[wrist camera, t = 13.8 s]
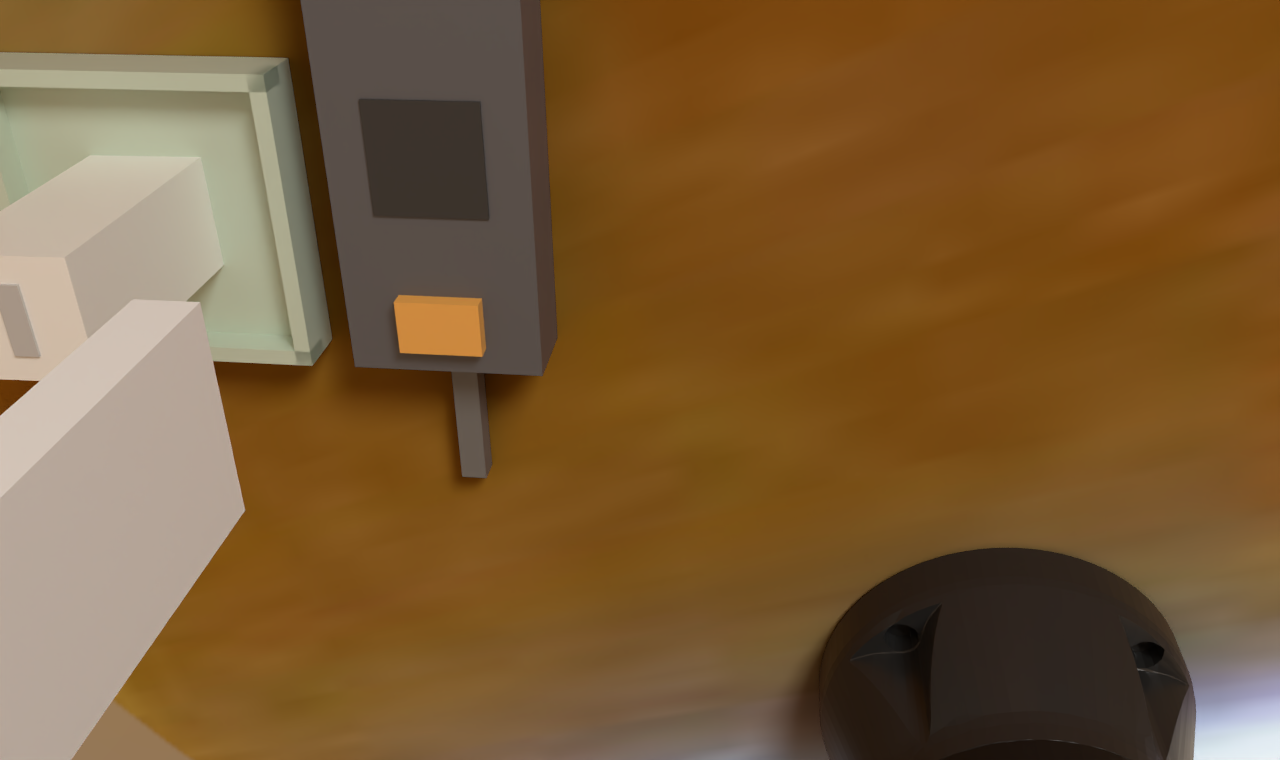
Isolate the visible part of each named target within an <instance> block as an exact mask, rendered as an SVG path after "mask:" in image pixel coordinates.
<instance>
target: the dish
mask: <svg viewBox="0 0 1280 760" xmlns="http://www.w3.org/2000/svg"><path fill="white" fill-rule="evenodd" d="M90 155H105V156H169V157H201V161H202V166H203V170H204V175H205V180H206V184H207V189H208V194H209V198H210V203H211V207H212V212H213V217H214V221H215V226H216V231H217V235H218V240H219V245H220V249H221V254H222V259H223V263H224V265H223V266H222V267H221V268H220V269H219V270H218V271H217V272H216V273H215V274H214V275H213V276H212V277H211V278H210V279H209V280H208V281H207V282H206V283H205V284H204V285H203V286H202V287H200V288H199V289H198V290H197V291H196V292H195V293H194V294H193V295H192V296H191V297H190V298H189V299H188V300H187V301H186V302H200V304H201V309H202V313H203V318H204V323H205V327H206V332H207V336H208V341H209V346H210V350H211V355H212V360H213V361H223V362H243V363H264V364H285V365H305V366H313V364H314V363H315V362H316V360H317V359H318V358H319V356H320V355H321V354H322V352H323V351H324V350H325V348H326V347H327V346H328V344H329V343H330V342H331V340H332V333H331V327H330V321H329V314H328V308H327V301H326V295H325V289H324V282H323V276H322V270H321V263H320V257H319V251H318V244H317V238H316V232H315V225H314V219H313V212H312V206H311V200H310V193H309V187H308V181H307V174H306V168H305V162H304V155H303V149H302V142H301V136H300V130H299V123H298V117H297V111H296V104H295V98H294V92H293V85H292V79H291V73H290V66H289V60H288V58H269V57H217V56H165V55H113V54H61V53H8V52H0V211H1V210H3V209H5V208H6V207H8V206H9V205H11V204H13V203H14V202H16V201H17V200H19V199H21V198H22V197H24V196H25V195H27V194H29V193H30V192H32V191H33V190H35V189H37V188H38V187H40V186H42V185H43V184H45V183H46V182H48V181H50V180H51V179H53V178H54V177H56V176H58V175H59V174H61V173H62V172H64V171H66V170H67V169H69V168H70V167H72V166H74V165H75V164H77V163H79V162H80V161H82V160H83V159H85V158H87V157H88V156H90Z"/></svg>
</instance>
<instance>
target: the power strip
mask: <svg viewBox="0 0 1280 760" xmlns="http://www.w3.org/2000/svg"><path fill="white" fill-rule="evenodd" d="M301 7H302V13H303V20H304V27H305V34H306V40H307V47H308V54H309V61H310V67H311V74H312V81H313V87H314V94H315V101H316V108H317V114H318V121H319V128H320V135H321V141H322V148H323V155H324V162H325V168H326V175H327V182H328V188H329V195H330V202H331V209H332V215H333V222H334V229H335V236H336V242H337V249H338V256H339V262H340V269H341V276H342V283H343V289H344V296H345V303H346V310H347V316H348V323H349V330H350V337H351V343H352V350H353V357H354V363H355V367H368V368H389V369H410V370H430V371H451V372H452V382H453V392H454V402H455V411H456V421H457V431H458V440H459V450H460V460H461V470H462V477H476V478H487V476H488V473H489V471H490V468H491V466H492V458H491V447H490V435H489V424H488V412H487V401H486V390H485V378H484V373H492V374H513V375H534V376H543V373H544V371H545V368H546V366H547V363H548V361H549V358H550V355H551V353H552V350H553V348H554V345H555V343H556V340H557V322H556V302H555V283H554V263H553V244H552V225H551V205H550V186H549V166H548V147H547V128H546V108H545V89H544V69H543V50H542V30H541V11H540V0H301Z"/></svg>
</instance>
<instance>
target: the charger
mask: <svg viewBox="0 0 1280 760" xmlns="http://www.w3.org/2000/svg"><path fill="white" fill-rule="evenodd" d="M223 265H224V263H223V259H222V254H221V249H220V245H219V240H218V235H217V231H216V226H215V221H214V217H213V212H212V207H211V203H210V198H209V194H208V189H207V184H206V180H205V175H204V170H203V166H202V161H201V157H169V156H105V155H90V156H88V157H87V158H85V159H83V160H82V161H80V162H79V163H77V164H75V165H74V166H72V167H70V168H69V169H67V170H66V171H64V172H62V173H61V174H59V175H58V176H56V177H54V178H53V179H51V180H50V181H48V182H46V183H45V184H43V185H42V186H40V187H38V188H37V189H35V190H33V191H32V192H30V193H29V194H27V195H25V196H24V197H22V198H21V199H19V200H17V201H16V202H14V203H13V204H11V205H9V206H8V207H6V208H5V209H3V210H1V211H0V379H6V380H32V381H40V380H42V379H43V378H44V377H45V376H46V375H47V374H48V373H50V372H51V371H52V370H53V369H54V368H55V367H56V366H58V365H59V364H60V363H61V362H62V361H63V360H64V359H66V358H67V357H68V356H69V355H70V354H71V353H72V352H73V351H75V350H76V349H77V348H78V347H79V346H80V345H81V344H83V343H84V342H85V341H86V340H87V339H88V338H89V337H91V336H92V335H93V334H94V333H95V332H96V331H97V330H99V329H100V328H101V327H102V326H103V325H104V324H105V323H107V322H108V321H109V320H110V319H111V318H112V317H113V316H115V315H116V314H117V313H118V312H119V311H120V310H121V309H123V308H124V307H125V306H126V305H127V304H128V303H129V302H130V301H132V300H133V299H139V300H162V301H185V302H186V301H187V300H188V299H189V298H190V297H191V296H192V295H193V294H194V293H195V292H196V291H197V290H198V289H199V288H200V287H202V286H203V285H204V284H205V283H206V282H207V281H208V280H209V279H210V278H211V277H212V276H213V275H214V274H215V273H216V272H217V271H218V270H219V269H220V268H221V267H222V266H223Z"/></svg>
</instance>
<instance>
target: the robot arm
mask: <svg viewBox="0 0 1280 760" xmlns="http://www.w3.org/2000/svg"><path fill="white" fill-rule="evenodd" d="M244 511H245V508H244V503H243V499H242V494H241V489H240V485H239V480H238V476H237V471H236V466H235V462H234V457H233V452H232V448H231V443H230V438H229V434H228V429H227V425H226V420H225V415H224V411H223V406H222V401H221V397H220V392H219V387H218V383H217V378H216V374H215V369H214V364H213V360H212V355H211V350H210V346H209V341H208V336H207V332H206V327H205V323H204V318H203V313H202V309H201V304H200V302H185V301H162V300H139V299H133V300H132V301H130V302H129V303H128V304H127V305H126V306H125V307H124V308H123V309H121V310H120V311H119V312H118V313H117V314H116V315H115V316H113V317H112V318H111V319H110V320H109V321H108V322H107V323H105V324H104V325H103V326H102V327H101V328H100V329H99V330H97V331H96V332H95V333H94V334H93V335H92V336H91V337H89V338H88V339H87V340H86V341H85V342H84V343H83V344H81V345H80V346H79V347H78V348H77V349H76V350H75V351H73V352H72V353H71V354H70V355H69V356H68V357H67V358H66V359H64V360H63V361H62V362H61V363H60V364H59V365H58V366H56V367H55V368H54V369H53V370H52V371H51V372H50V373H48V374H47V375H46V376H45V377H44V378H43V379H42V380H40V381H39V382H38V383H37V384H36V385H35V386H34V387H32V388H31V389H30V390H29V391H28V392H27V393H26V394H24V395H23V396H22V397H21V398H20V399H19V400H18V401H17V402H15V403H14V404H13V405H12V406H11V407H10V408H9V409H7V410H6V411H5V412H4V413H3V414H2V415H1V416H0V760H71V759H72V758H73V757H74V755H75V753H76V752H77V751H78V749H79V748H80V746H81V745H82V744H83V742H84V741H85V739H86V738H87V736H88V735H89V733H90V732H91V731H92V729H93V728H94V726H95V725H96V724H97V722H98V720H99V719H100V718H101V716H102V715H103V713H104V712H105V711H106V709H107V708H108V706H109V705H110V703H111V702H112V701H113V699H114V698H115V696H116V695H117V693H118V692H119V690H120V689H121V688H122V686H123V685H124V683H125V682H126V680H127V679H128V678H129V676H130V675H131V673H132V672H133V670H134V669H135V668H136V666H137V665H138V663H139V662H140V660H141V659H142V657H143V656H144V655H145V653H146V652H147V650H148V649H149V647H150V646H151V645H152V643H153V642H154V640H155V639H156V637H157V636H158V635H159V633H160V632H161V630H162V629H163V627H164V626H165V624H166V623H167V622H168V620H169V619H170V617H171V616H172V614H173V613H174V612H175V610H176V609H177V607H178V606H179V604H180V603H181V602H182V600H183V599H184V597H185V596H186V594H187V593H188V591H189V590H190V589H191V587H192V586H193V584H194V583H195V581H196V580H197V579H198V577H199V576H200V574H201V573H202V571H203V570H204V569H205V567H206V566H207V564H208V563H209V561H210V560H211V558H212V557H213V556H214V554H215V553H216V551H217V550H218V548H219V547H220V546H221V544H222V543H223V541H224V540H225V538H226V537H227V536H228V534H229V533H230V531H231V530H232V528H233V527H234V525H235V524H236V523H237V521H238V520H239V518H240V517H241V515H242V514H243V513H244ZM819 700H820V725H821V730H822V736H823V740H824V744H825V747H826V751H827V753H828V756H829V759H830V760H1193V757H1194V740H1195V724H1196V704H1195V696H1194V691H1193V685H1192V681H1191V678H1190V675H1189V671H1188V669H1187V667H1186V664H1185V662H1184V659H1183V657H1182V654H1181V652H1180V649H1179V647H1178V644H1177V642H1176V639H1175V637H1174V635H1173V632H1172V630H1171V629H1170V627H1169V625H1168V623H1167V622H1166V620H1165V619H1164V617H1163V616H1162V614H1161V613H1160V612H1159V610H1158V609H1157V608H1156V607H1155V606H1154V604H1153V603H1152V602H1151V601H1150V600H1149V599H1148V598H1147V597H1146V596H1144V595H1143V594H1142V593H1141V592H1140V591H1139V590H1137V589H1136V588H1135V587H1133V586H1132V585H1131V584H1129V583H1128V582H1127V581H1125V580H1123V579H1122V578H1120V577H1118V576H1117V575H1115V574H1113V573H1111V572H1109V571H1107V570H1105V569H1104V568H1101V567H1099V566H1097V565H1094V564H1092V563H1089V562H1086V561H1084V560H1081V559H1078V558H1074V557H1071V556H1067V555H1063V554H1059V553H1054V552H1049V551H1042V550H1035V549H1024V548H990V549H978V550H971V551H964V552H959V553H954V554H949V555H946V556H942V557H938V558H935V559H932V560H929V561H926V562H923V563H920V564H918V565H915V566H913V567H910V568H908V569H906V570H904V571H902V572H900V573H898V574H896V575H894V576H892V577H891V578H889V579H887V580H886V581H884V582H882V583H881V584H879V585H878V586H876V587H875V588H874V589H872V590H871V591H870V592H868V593H867V594H866V595H865V596H864V597H862V598H861V599H860V600H859V601H858V602H857V603H856V604H855V605H854V606H853V607H852V608H851V609H850V610H849V611H848V612H847V614H846V615H845V616H844V617H843V619H842V620H841V621H840V623H839V624H838V626H837V627H836V629H835V630H834V632H833V634H832V636H831V637H830V640H829V642H828V644H827V646H826V649H825V652H824V655H823V658H822V663H821V668H820V675H819Z"/></svg>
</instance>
